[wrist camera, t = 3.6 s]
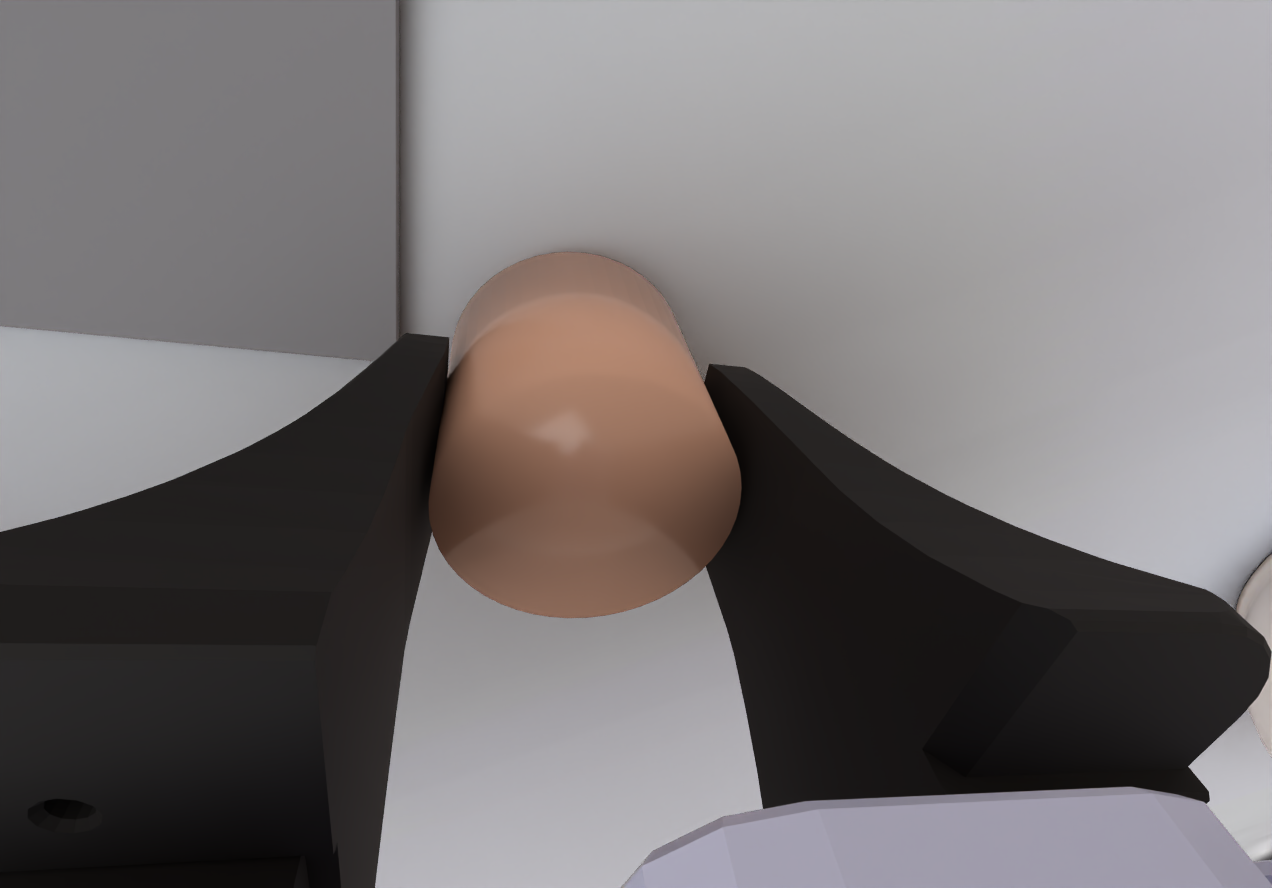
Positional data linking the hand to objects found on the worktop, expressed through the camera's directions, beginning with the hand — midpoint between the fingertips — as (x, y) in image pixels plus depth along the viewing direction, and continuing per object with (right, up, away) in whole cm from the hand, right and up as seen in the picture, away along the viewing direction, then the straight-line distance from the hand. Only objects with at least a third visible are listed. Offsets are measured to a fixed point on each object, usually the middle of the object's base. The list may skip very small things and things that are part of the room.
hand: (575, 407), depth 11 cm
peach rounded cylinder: (0, +1, +1) cm, 2 cm away
